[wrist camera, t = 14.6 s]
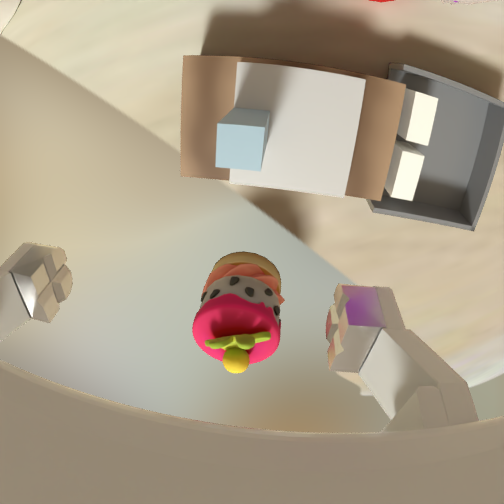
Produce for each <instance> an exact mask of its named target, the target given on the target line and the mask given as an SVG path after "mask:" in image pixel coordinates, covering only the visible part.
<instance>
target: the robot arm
mask: <svg viewBox="0 0 504 504" xmlns="http://www.w3.org/2000/svg"><path fill="white" fill-rule="evenodd" d="M20 1H21V0H0V35H1V32H2V31H3V29H4V28H5V27H6V25H7V24H8V23H9V21H10V20H11V18H12V17H13V15H14V13H15V12H16V10H17V8H18V5H19V3H20ZM66 261H67V257H66V254H65V251H64V250H63V249H62V248H60V247H54V246H48V245H43V244H37V243H32V242H26V243H23V244H22V245H21V246H20V247H19V248H18V249H17V250H16V251H15V252H14V253H13V254H12V255H11V256H10V257H9V258H8V259H7V260H6V261H5V262H4V263H3V264H2V265H1V267H0V342H1V341H2V340H4V339H5V338H6V337H8V336H9V335H10V334H11V333H13V332H14V331H16V330H17V329H18V328H19V327H21V326H22V325H24V324H25V323H26V322H27V321H29V320H30V318H32V319H36V320H40V321H44V322H47V323H50V322H51V321H52V319H53V318H54V316H55V315H56V313H57V312H58V310H59V309H60V308H59V303H60V302H62V301H64V300H65V299H66V298H67V297H68V296H69V294H70V292H71V288H72V284H73V283H72V275H71V271H70V270H69V268H68V267H67V266H66V265H65V263H66ZM334 299H335V303H334V304H333V305H332V306H330V309H329V312H328V316H327V322H326V339H327V340H328V341H329V343H330V346H329V349H328V362H329V371H340V372H354V373H358V375H359V376H360V377H361V379H362V380H363V382H364V383H365V384H366V386H367V387H368V389H369V390H370V391H371V393H372V394H373V396H374V397H375V398H376V400H377V401H378V403H379V404H380V405H381V407H382V408H383V410H384V411H385V412H386V414H387V415H388V417H389V418H390V419H391V421H390V422H389V423H388V424H387V425H386V426H385V428H384V429H383V430H382V431H381V432H378V433H377V432H375V433H309V432H291V431H290V432H289V431H277V430H265V429H255V428H246V427H237V426H230V425H223V424H216V423H210V422H203V421H198V420H192V419H187V418H181V417H176V416H171V415H167V414H162V413H157V412H153V411H148V410H145V409H140V408H136V407H132V406H129V405H125V404H121V403H117V402H114V401H110V400H106V399H103V398H100V397H97V396H94V395H90V394H87V393H84V392H81V391H78V390H75V389H72V388H69V387H66V386H63V385H60V384H58V383H55V382H52V381H50V380H47V379H44V378H42V377H39V376H37V375H34V374H32V373H29V372H27V371H25V370H22V369H20V368H18V367H15V366H13V365H11V364H9V363H6V362H4V361H2V360H0V504H504V416H501V417H496V418H492V419H487V420H482V421H479V420H478V417H477V413H476V410H475V406H474V403H473V400H472V397H471V394H470V391H469V388H468V385H467V382H466V381H465V380H464V379H463V378H462V377H461V376H460V375H458V374H457V373H456V372H455V371H454V370H453V369H452V368H451V367H450V366H449V365H448V364H447V363H446V362H445V361H444V360H443V359H442V358H441V357H439V356H438V355H437V354H436V353H435V352H434V351H433V350H432V349H431V348H430V347H429V346H428V345H427V344H425V343H424V342H423V341H422V340H421V339H420V338H419V337H418V336H417V335H416V334H415V333H414V332H412V331H411V330H408V329H405V326H404V323H403V320H402V317H401V314H400V311H399V308H398V305H397V302H396V300H395V297H394V294H393V291H392V289H390V288H389V287H375V286H373V287H369V286H358V285H348V284H338V285H337V287H336V290H335V293H334Z"/></svg>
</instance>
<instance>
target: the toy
mask: <svg viewBox="0 0 504 504" xmlns="http://www.w3.org/2000/svg"><path fill="white" fill-rule="evenodd" d="M370 1H377V2H387V1H394V0H370ZM441 1H442V2H443V4H444V3H448V2H450V3H451V4H455V3H463V4H468V5H469V4H475V3H481V2H489V1H497V0H441Z"/></svg>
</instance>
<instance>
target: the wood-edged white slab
mask: <svg viewBox="0 0 504 504" xmlns="http://www.w3.org/2000/svg"><path fill="white" fill-rule="evenodd" d="M237 62H249V63H262V64H273V65H282V66H291V67H298V68H306V69H313V70H319V71H325V72H331V73H337V74H342V75H347V76H352V77H357V78H361V79H365V80H366V82H365V89H364V95H363V101H362V108H361V113H360V119H359V125H358V131H357V136H356V142H355V147H354V152H353V157H352V162H351V167H350V172H349V177H348V182H347V186H346V191H345V195H346V196H353V197H359V198H365V199H371V200H377V201H381V198H382V194H383V190H384V186H385V182H386V178H387V174H388V170H389V166H390V162H391V158H392V154H393V149H394V145H395V140H396V135H397V131H398V126H399V121H400V116H401V111H402V105H403V100H404V94H405V89H406V84H402V83H398V82H395V81H391V80H387V79H383V78H379V77H375V76H371V75H366V74H362V73H357V72H352V71H347V70H342V69H337V68H332V67H326V66H320V65H313V64H307V63H300V62H292V61H284V60H274V59H264V58H251V57H235V56H202V55H189V56H183V73H182V100H181V176H184V177H197V178H208V179H219V180H229V179H230V168H220V167H215V165H216V141H217V123H218V122H219V121H220V120H221V119H222V118H223V117H225V116H226V115H227V114H228V113H229V112H230V111H231V110H232V109H233V108H234V100H235V86H236V72H237Z"/></svg>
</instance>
